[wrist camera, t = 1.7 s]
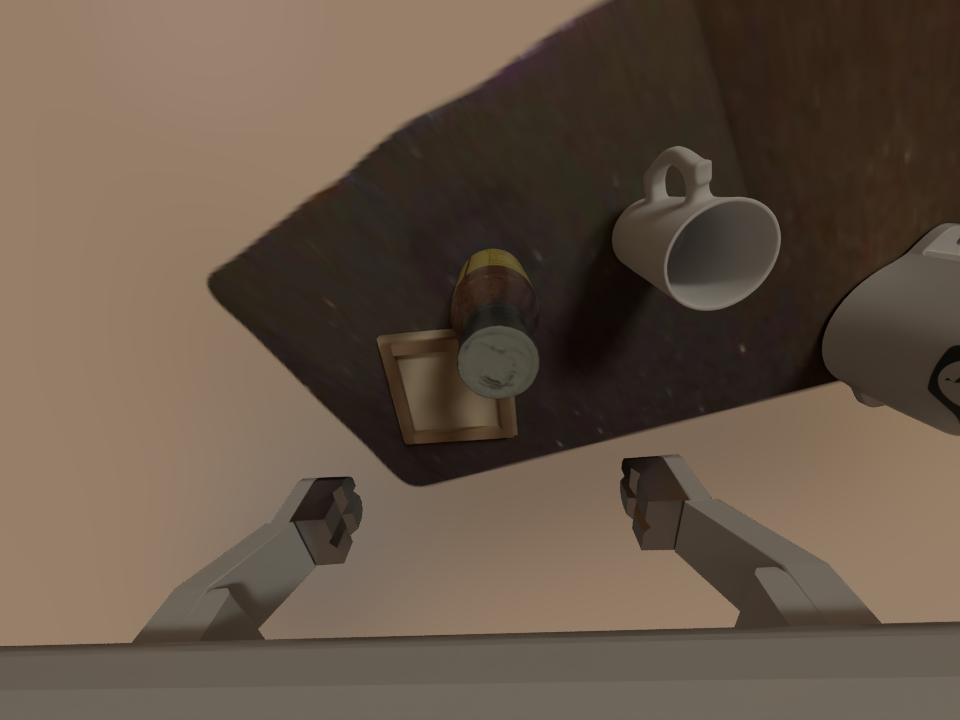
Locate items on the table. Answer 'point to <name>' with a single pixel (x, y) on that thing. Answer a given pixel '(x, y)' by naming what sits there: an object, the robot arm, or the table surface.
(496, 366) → the sauce bottle
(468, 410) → the seat plate
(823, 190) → the table surface
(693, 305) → the mug
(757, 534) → the robot arm
